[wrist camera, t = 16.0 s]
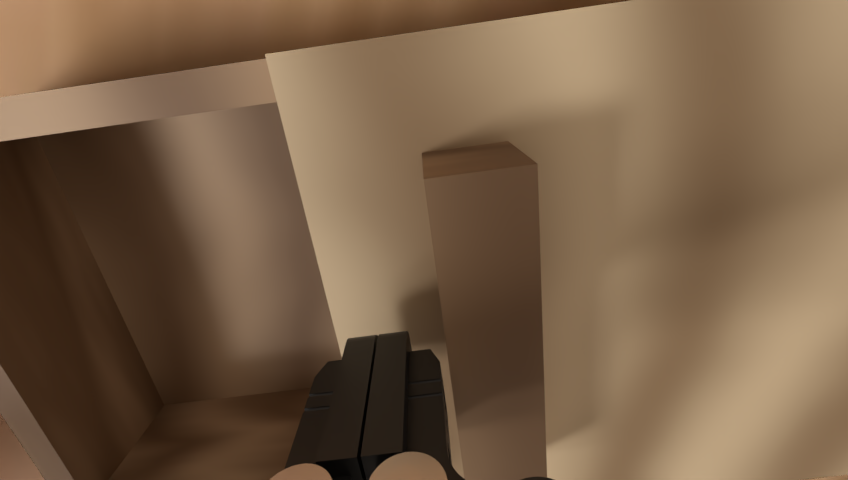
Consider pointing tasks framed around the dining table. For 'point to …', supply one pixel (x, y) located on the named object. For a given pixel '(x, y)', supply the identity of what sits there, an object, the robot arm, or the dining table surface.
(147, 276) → the toolbox
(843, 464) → the lid
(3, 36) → the dining table surface
